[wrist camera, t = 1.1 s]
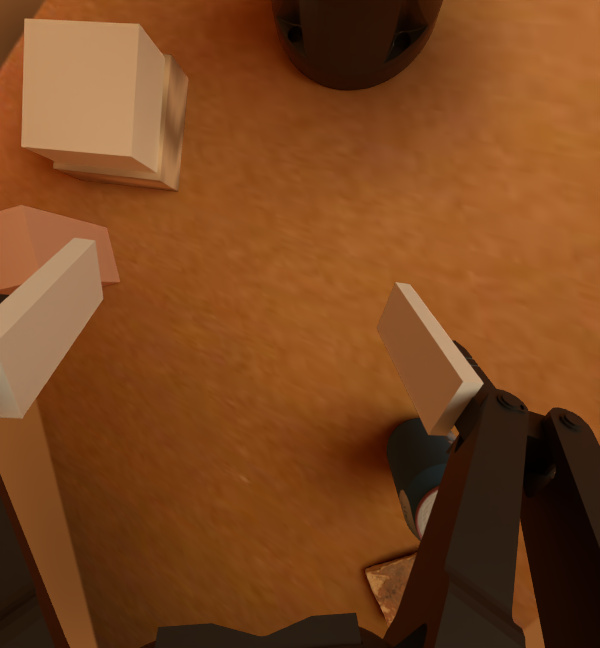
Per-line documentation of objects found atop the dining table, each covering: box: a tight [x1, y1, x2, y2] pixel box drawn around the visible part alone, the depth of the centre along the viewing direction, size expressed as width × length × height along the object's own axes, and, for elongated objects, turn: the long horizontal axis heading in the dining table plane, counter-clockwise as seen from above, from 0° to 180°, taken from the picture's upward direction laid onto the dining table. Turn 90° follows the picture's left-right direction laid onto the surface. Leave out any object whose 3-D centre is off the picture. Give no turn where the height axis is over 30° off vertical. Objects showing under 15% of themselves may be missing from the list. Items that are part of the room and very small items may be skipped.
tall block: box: [0, 205, 120, 295], centre depth 33 cm, size 6×6×10 cm
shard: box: [365, 552, 417, 626], centre depth 36 cm, size 11×8×2 cm
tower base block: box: [53, 54, 189, 191], centre depth 34 cm, size 11×11×4 cm
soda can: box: [387, 418, 456, 541], centre depth 29 cm, size 7×7×12 cm
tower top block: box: [21, 19, 165, 173], centre depth 30 cm, size 10×10×4 cm
